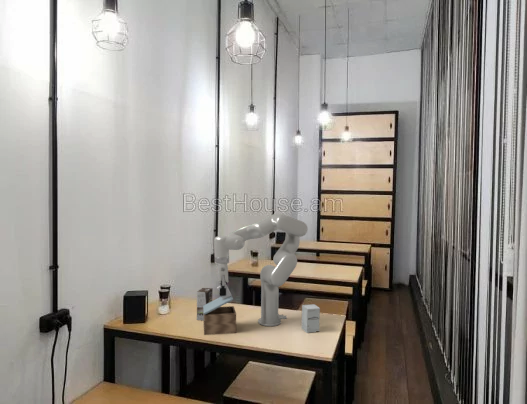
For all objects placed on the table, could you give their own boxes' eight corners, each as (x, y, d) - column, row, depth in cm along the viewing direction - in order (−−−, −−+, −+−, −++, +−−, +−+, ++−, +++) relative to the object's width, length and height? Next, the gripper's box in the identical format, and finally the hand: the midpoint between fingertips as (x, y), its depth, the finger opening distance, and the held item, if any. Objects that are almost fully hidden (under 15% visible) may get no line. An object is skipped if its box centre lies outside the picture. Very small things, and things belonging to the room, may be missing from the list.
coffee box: (207, 321, 203) (207, 292, 203) (196, 320, 205) (196, 291, 204) (212, 315, 212) (213, 288, 212) (202, 314, 214) (202, 287, 213)
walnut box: (233, 324, 199) (233, 306, 198) (235, 332, 187) (236, 313, 187) (203, 326, 196) (203, 307, 195) (204, 334, 184) (204, 315, 184)
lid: (230, 293, 198) (224, 280, 197) (233, 299, 186) (226, 286, 185) (203, 307, 195) (197, 294, 195) (204, 314, 183) (197, 301, 182)
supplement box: (306, 333, 188) (306, 308, 187) (301, 328, 195) (301, 304, 195) (319, 332, 190) (320, 307, 189) (314, 327, 197) (314, 303, 196)
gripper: (230, 262, 183) (231, 298, 184) (227, 256, 199) (228, 290, 199) (215, 263, 182) (216, 300, 183) (213, 257, 197) (214, 291, 198)
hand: (222, 294), depth 191 cm, fingers closed on lid
